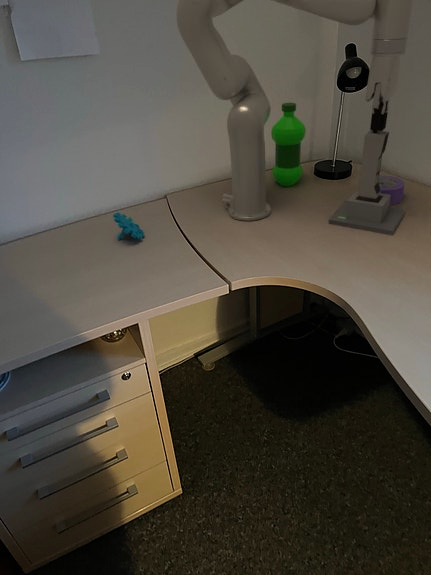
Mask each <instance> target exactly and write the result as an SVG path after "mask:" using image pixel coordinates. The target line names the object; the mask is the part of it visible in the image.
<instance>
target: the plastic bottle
mask: <svg viewBox="0 0 431 575" xmlns="http://www.w3.org/2000/svg"><path fill="white" fill-rule="evenodd" d="M281 111H282V113H283V116H281V118H279V120H277V121H276V123H274V125H273V126H272V129H271V139H272V140H273V141H274V143H275V149H274V150H275V158H274V159H275V160H274V161H275V162H274V163H275V164H274V166H273V169H272V170H271V171H272V172H271V173H272V174H271V175H272V177H273V179H274V180H275V182H277V183H278V184H279V185H280V186H283V187H291V185H292V186H294V185H295V184H297V183H298V182H299V181H300V179H301V178H302V175H303V173H304V170H303V166H302V164H301V148H302V146H301V145H302V141H303V140H304V139H305V136H306V126H305V124H304V123H303V122H302V121H301V120H300V119H299V118H297V117H296V116H295V112H296V111H297V103H296V102H284V103H282V104H281Z"/></svg>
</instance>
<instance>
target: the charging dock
mask: <svg viewBox="0 0 431 575" xmlns="http://www.w3.org/2000/svg"><path fill="white" fill-rule="evenodd" d="M358 190H359V189H357V190H356V191H355V192H354V193H353V194H352V196H351V197H349V199H348V200H344V202H342V204H341V205H340V206H339V207H338V208H337V209H336V211H335V212H334V213H333V214H332V215H331V216H330V217H329V219H328V224H329V225H333V226H334V225H335V226H339V227H340V226H341V227H347V228H352V229H355V230H356V229H357V230H361V231H362V230H363V231H367V232H373V233H378V234H383V235H389V236H393V234H394V232H395V231H396V229H397V227H398V226H399V224H400V222H401V220H402V219H403V217H404V216H405V213H406V209H403V208H402V209H401V208H396V207H390V205H389V203H390V197H391V195H389V194H383V193H380V195H379V196H378V197H377V198H376V199H372V198H366V197H359V196H358Z"/></svg>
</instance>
